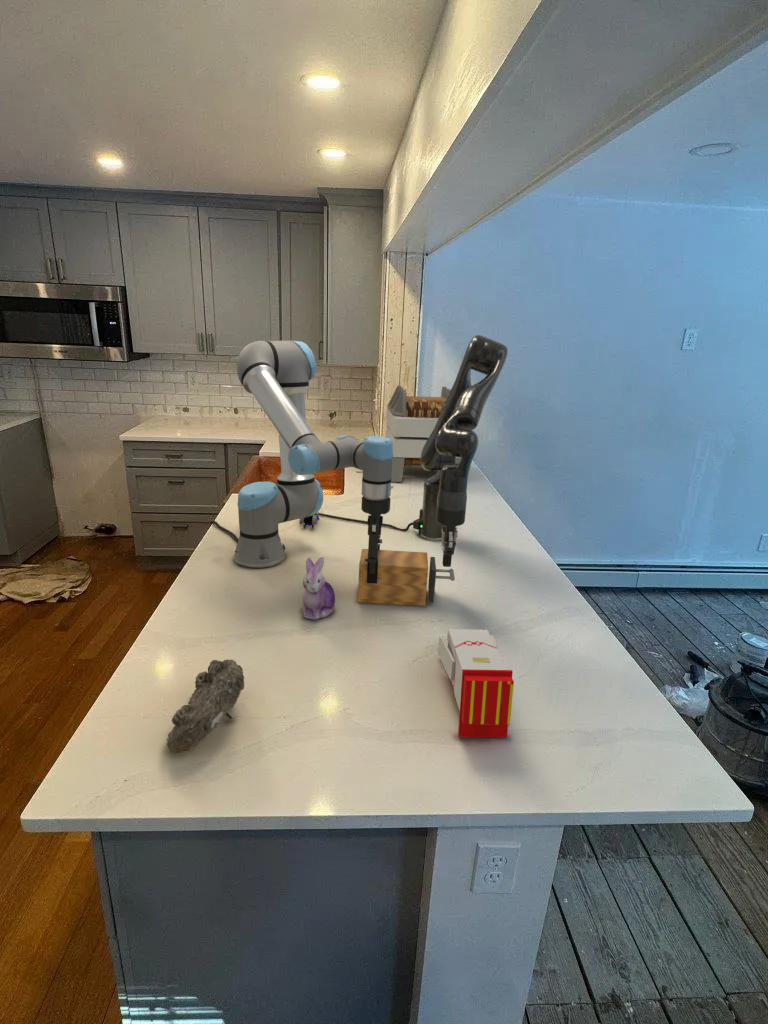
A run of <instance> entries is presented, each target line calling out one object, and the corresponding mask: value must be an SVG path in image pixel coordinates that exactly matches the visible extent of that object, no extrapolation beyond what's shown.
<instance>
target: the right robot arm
mask: <svg viewBox="0 0 768 1024" xmlns="http://www.w3.org/2000/svg"><path fill="white" fill-rule="evenodd" d="M508 353H509V349H508V347H507V346H506V345H505V344H503V343H501V342H499V341H496V340H493V339H491V338H489V337H486V336H484V335H481V334H476V335H474V336H473V337H472V338H471V339H470V341H469V343H468V345H467V347H466V350H465V353H464V354H463V357H462V361H461V364H460V366H459V369H458V372H457V375H456V377H455V380H454V382H453V385H452V387H451V388H450V390H451V391H450V393H449V395H448V397H447V399H446V401H445V404H444V406H443V408H442V411H441V413H440V416H439V418H438V421H437V423H436V425H435V427H434V429H433V431H432V433H431V435H430V436H429V438H428V440H427V441H426V443H425V445H424V447H423V449H422V452H421V458H420V460H421V466H420V467H422V469H423V470H424V471H427V472H436V473H435V474H434V475H432V476H430V477H428V478H427V479H425V480H424V482H423V493H422V496H423V497H422V506H421V508H420V509H419V516H418V518H416V519H415V520H413V521H412V522H410V523H408V524H407V527H405V528H400V527H397V526H395V525H392V524H389V523H384V522H383V523H382V527H388V528H392V529H394V530H396V531H401V532H406V531H409V529H410V527H411V526H412V529H414V530H417V535H418V536H420V538H421V539H424V540H426V541H432V542H440V541H441V545H442V546H441V547H442V548H441V549H442V567H444V568H450V567H452V558H453V556H454V553H455V550H456V545H457V539H458V530H457V529H458V527H460V526H463V525H464V524H465V522H466V511H467V501H468V493H467V492H468V480H469V473H470V468H471V465H472V462H473V460H474V457H475V455H476V452H477V451H478V447H479V437H478V434H477V433H476V432H475V431H474V430H475V429H476V428H477V427H478V425H479V423H480V419H481V417H482V414H483V411H484V407H485V405H486V402H487V401H488V399H489V397H490V396H491V393H492V391H493V389H494V387H495V385H496V383H497V381H498V379H499V377H500V375H501V374H502V373H501V372H502V371H503V368H504V366H505V364H506V360H507V358H508ZM472 371H475V372H478V373H480V374H483V375H486V376H485V377H484V378H482V379H481V380H480V381H478V382H476V383H475V384H472V378H471V376H472V375H471V374H472ZM456 457H460V458H461V461H460V463H458V464H455V463H456ZM318 516H322V517H326V518H330V519H331V518H332V519H335V520H336V519H337V520H342V521H347V522H355V523H360V524H361V523H362V524H367V521H368V520H362V519H355V518H348V517H342V516H337V515H331V514H327V513H322V512H318Z"/></svg>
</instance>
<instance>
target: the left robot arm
mask: <svg viewBox="0 0 768 1024" xmlns="http://www.w3.org/2000/svg"><path fill="white" fill-rule="evenodd" d="M315 358H316V357H315V355H314V353H313V351H312V349H311V348H310V347H309V345H308V344H307V343H305V342H303V341H300V340H290V339H289V340H256V341H252V342H251V343H248V344H247V345H245V346H244V347H243V349H242V350H241V351H240V352H239V355H238V357H237V362H236V373H237V377H238V378H237V379H238V380H239V382H240V384H241V386H242V387H243V388H244V390H245V391H246V392H247V393H249V394H252V396H253V397H254V399H255V400H256V402H257V403H258V404H259V406H260V407H261V409H262V410H263V412H264V413H265V414H266V416H267V417H268V419H269V420H270V422H271V423H272V425H273V426H274V428H275V429H276V431H277V433H278V443H279V444H278V445H279V457H280V458H279V459H280V470H281V471H280V473H279V474H278V475H277V477H276V483H277V484H276V483H275V482H273V481H269V480H267V481H256V482H251V483H248V484H246V485H244V486H243V487H242V488H240V490H239V491H238V494H237V512H238V513H237V514H238V530H239V537H238V536H237V535H236V534H235V533H234V532H233V531H231V530H229V529H227V528H225V527H223V526H222V525H220V524H219V523H218V522H217V521H216V520H212V521H211V522H210V525H215V527H217V528H218V529H220V530H221V531H224V532H225V533H227V534H229V535H230V536H232V538H233V539H234V540H235V542H237V543H236V547H235V550H234V561H235V563H236V564H237V565H239V566H242V567H246V568H249V569H250V568H251V569H264V568H265V569H266V568H271V567H274V566H276V565H279V564H281V563H282V562H284V561H285V559H286V552H285V551H286V545H285V544H284V543H283V542H282V541H281V537H280V534H279V524H282V523H287V522H291V521H296V520H300V518H307V517H309V516H312V515H315V514H316V513H319V511H320V510H321V509H322V507H323V503H324V490H323V487H322V484H321V483H320V482H319V481H318V480H317V479H316V478H315V474H319V473H325V472H329V471H336V470H341V469H348V468H355V469H357V470H359V471H362V478H361V496H362V497H361V508H360V509H361V511H362V512H363V513H365V514H368V515H367V520H366V521H367V523H366V524H367V535H368V545H367V546H368V548H367V549H368V559H365V561H367V562H368V563H367V583H375V584H377V574H378V550H381V544H383V539H381V535H382V529H383V526H382V523H384V516H383V515H386V514H388V513H390V511H391V496H392V495H391V493H392V489H394V485H393V484H392V482H391V478H392V461H393V442H392V440H391V439H390V438H388V437H386V436H381V435H369V436H366V437H365V438H364V439H361V438H357V437H355V436H353V435H345V434H344V435H343V434H342V435H339V436H338V437H336V438H335V439H333V440H329V441H321V440H320V439H319V438H318V436H317V435H316V434H315V433H314V431H313V430H312V428H311V427H310V426H309V424H308V422H307V416H306V414H307V413H306V400H305V393H306V391H307V390H308V389H309V388H310V383H309V382H310V381H311V380H313V378H314V377H315V373H316V372H317V364H316V363H317V362H316V359H315Z"/></svg>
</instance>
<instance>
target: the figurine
mask: <svg viewBox="0 0 768 1024" xmlns="http://www.w3.org/2000/svg"><path fill="white" fill-rule="evenodd" d="M324 563H325V557H324V556H320V557H319V558H318V559H317V561H316V563H315V564H314V561H313V560H312V558H311V557H307V558H306V561H305V568H306V572H305V575H304V577H303V580H302V586H303V588H304V589H305V590H304V592H303V594H302V603H303V608H302V611H303V617H304V618H305V619H309V620H314V621H315V620H319V619H321V618H327V617H328V616H330V615H331V614H332V613H334V611H335V605H336V604H335V603H336V594H335V590H334V588H333V586H332V585H331V584H330V583H329V582H328V581H327V580H326V579H325V577H324V575H323V573H322V572H323V567H324V565H325V564H324Z"/></svg>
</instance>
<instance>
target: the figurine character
mask: <svg viewBox="0 0 768 1024" xmlns="http://www.w3.org/2000/svg"><path fill="white" fill-rule="evenodd" d="M318 513H319V512H318ZM318 513H316V514H315V515H312V516H309V517H307V518H300V519H298V522H299V523H298V524H299V525H300V526H303V527H302V528H303V529H304V530H305V529H306V528H307V526H308V527H310V526H311V530H313V529H314V527H315V526H316V525H318V521H319V520H320V517H319V515H318Z"/></svg>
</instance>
